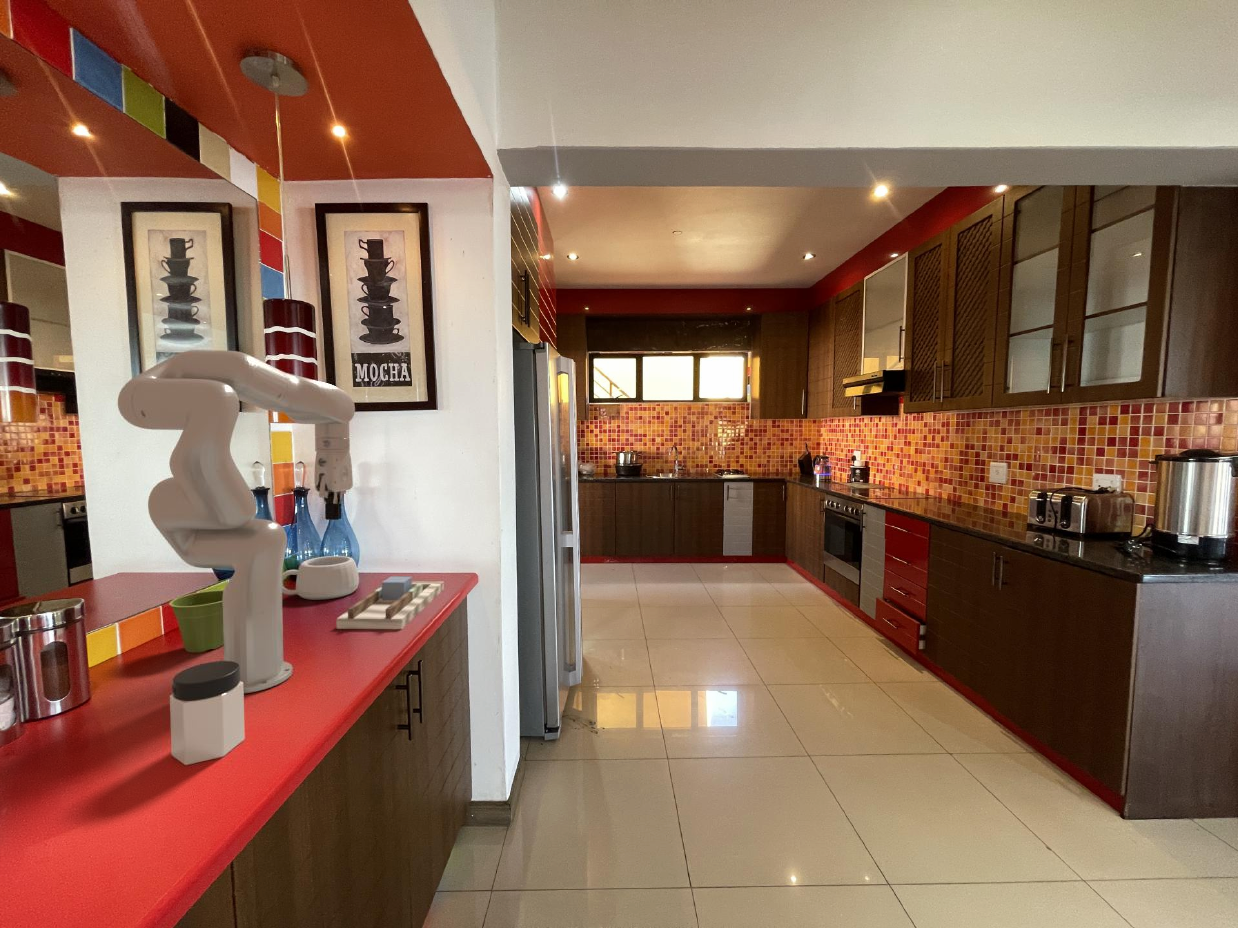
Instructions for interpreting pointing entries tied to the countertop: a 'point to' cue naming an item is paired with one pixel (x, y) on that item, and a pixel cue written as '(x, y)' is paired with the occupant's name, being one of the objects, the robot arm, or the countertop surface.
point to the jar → (206, 711)
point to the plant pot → (200, 620)
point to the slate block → (395, 587)
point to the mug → (324, 578)
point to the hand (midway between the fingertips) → (333, 519)
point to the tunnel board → (390, 608)
